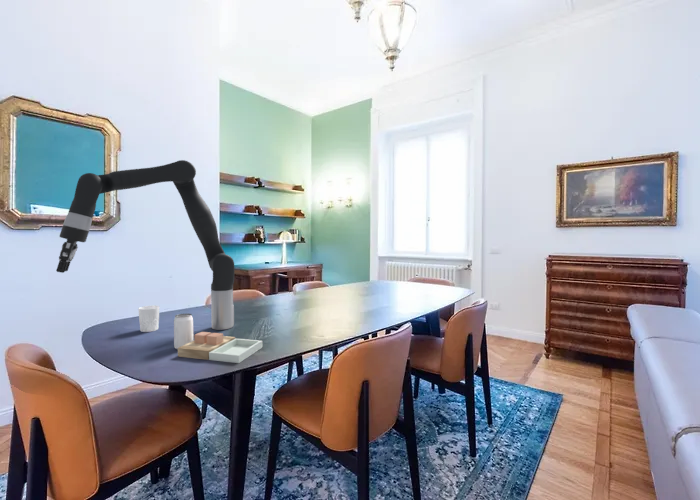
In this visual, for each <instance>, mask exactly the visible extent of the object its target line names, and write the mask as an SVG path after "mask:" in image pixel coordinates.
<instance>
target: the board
mask: <svg viewBox="0 0 700 500" xmlns="http://www.w3.org/2000/svg"><path fill="white" fill-rule="evenodd" d="M234 339H236V336H230V335H229V336H227V335H226V336H225V335H223V342H222V343H220V344H218V345H210V344H207V343H205V344H200V343H195V339H193V341H192V342H190V343H188V344H185V345H183V346H181V347H179V348H178V349H177V358H179V357H180V358H188V359H198V360H205V361H210V360H209V352H211V351H213V350H215V349H217V348H219V347H220V346H222V345H224V344H226V343H228V342H230V341H232V340H234Z"/></svg>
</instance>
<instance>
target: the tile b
mask: <svg viewBox="0 0 700 500" xmlns="http://www.w3.org/2000/svg"><path fill="white" fill-rule="evenodd" d="M223 336H224V333H223V332H222V333H221V332H211V334H210V335H207V344H210V345H218V344H220V343H222V342H223Z"/></svg>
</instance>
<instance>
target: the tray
mask: <svg viewBox="0 0 700 500" xmlns="http://www.w3.org/2000/svg"><path fill="white" fill-rule="evenodd" d="M261 349H263V340H257V339H247V338H236V337H235V339H234V340H232V341H230V342H228V343H226V344H224V345H222V346H220V347H219V348H217V349H215V350H213V351H211V352H209V360H208V361H215V362H216V361H218V362H225V363H233V364H235V363H236V364H240V363H241V362H242V361H244V360H246V359H248V358H249V357H250V356H252V355H253V354H255V353H256V352H258V351H259V350H261Z"/></svg>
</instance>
